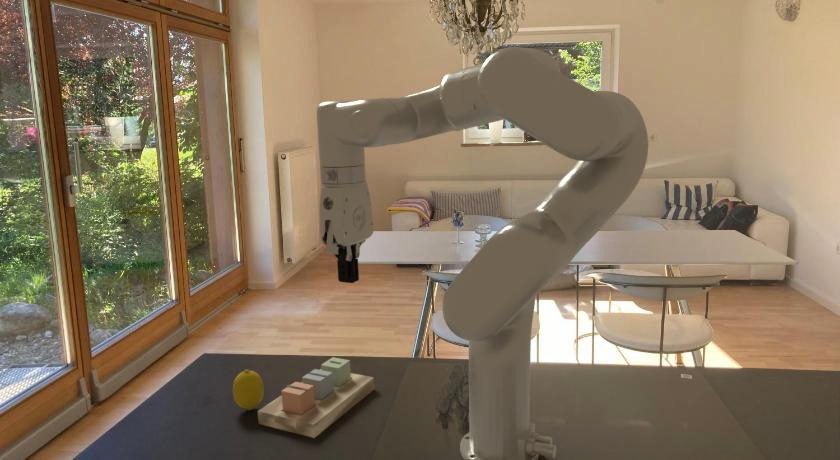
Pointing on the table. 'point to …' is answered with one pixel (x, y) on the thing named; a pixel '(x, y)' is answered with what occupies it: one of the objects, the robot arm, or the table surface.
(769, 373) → the table surface
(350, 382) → the keypad board
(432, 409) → the table surface
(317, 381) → the key slate
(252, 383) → the lemon
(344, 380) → the key sage
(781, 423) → the table surface
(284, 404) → the key terracotta
